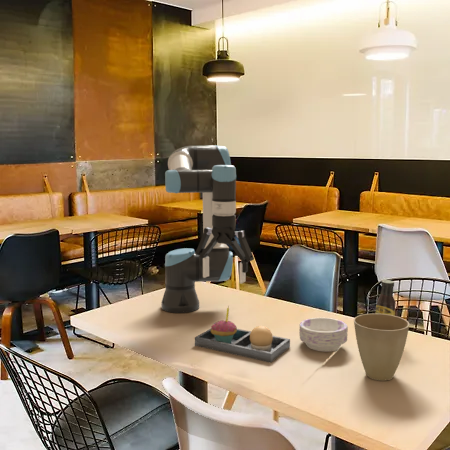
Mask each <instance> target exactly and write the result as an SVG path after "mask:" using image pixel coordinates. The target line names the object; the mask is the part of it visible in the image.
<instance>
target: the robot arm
mask: <svg viewBox="0 0 450 450" xmlns="http://www.w3.org/2000/svg"><path fill="white" fill-rule="evenodd" d="M231 162H232V161H231V157H230V153H229V149H228V148H227V146H225V145H185V146H183V147H180V148H177V149H176V150H173V152H172V153H170V155H169V156H168V159H167V167H168V170H166V171H165V173H164V176H165V179H164V180H165V181H164V182H165V191H166V192H167V193H170V194H171V193H173V194H184V193H185V194H186V193H187V194H188V193H189V194H190V193H192V194H193V193H196V194H197V193H199V194H200V193H202V222H203V223H202V225H203V226H202V228H203V229H202V230H203V232H202V233H203V235H202V237H201V239H200V241H199V243H198V246H197V248H196V250H195V249H194V248H187V247H186V248H185V247H184V248H177V249H174V250H170V251H168V253H166V254H165V257H164V258H165V259H164V261H165V263H164V266H165V268H164V269H165V273H164V274H165V279H164V280H165V289H164V293H163V297H162V300H161V310H163V311H164V312H168V313H173V314H185V313H192V312H195V311H197V310H199V309H200V300H199V297H198V294H197V290H196V284H195V283H196V282H198V283H200V282H202V283H203V282H205V283H206V282H223V281H224V282H225V281H228V280H229V279H230V278H231V276H232V270H233V263H234V257H233V256H234V254H233V252H232V251H231V250H230V247H231V248H232V249H233V251H234V252H235V254H236V256H237V257H238V258H239V259H240V261H241V262H239V274H238V275H239V284H243V283H245V282H247V281H246V280H247V279H246V276H247V275H246V273H248V271H249V262H251V261H253V260H254V258H255V257H254V254H253V253H252V250H251V248H250V245H249V243H248V241H247V238H246V232H245V230H239V231H237V230H236V226H237V225H236V224H237V215H236V213H237V199H236V195H237V194H236V193H237V169H236V167H235V165H232V163H231ZM236 238H238V240H237V239H236ZM238 242H239V243H238ZM228 245H229V246H230V247H229V246H228Z"/></svg>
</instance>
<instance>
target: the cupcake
mask: <svg viewBox="0 0 450 450" xmlns="http://www.w3.org/2000/svg"><path fill="white" fill-rule="evenodd" d="M229 306H230V305H227V308H226V314H225V320H224V319H222V320H218V321H216V322H214V323H213V324H212V325H211V326H210V327H211V328H210V329H211V333H212V334H214V336H215V339H216V341H220V342H224V343H229V344H230V343H231V341H232V338H233V335H234V334H235V333H236V332H237V329H238V328H237V325H236V324H235V323H234V322H232V321H230V320H229V311H230V308H229Z"/></svg>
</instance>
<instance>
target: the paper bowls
mask: <svg viewBox="0 0 450 450" xmlns="http://www.w3.org/2000/svg"><path fill="white" fill-rule="evenodd" d="M348 328H349V327H348V324H347V323H345V322H344V321H343V320H340V319H336V318H331V317H311V318H307V319H303V320H301V322H299V339H300V341H301V342H302V343H305V345H306V347H307V348H309V349H310V350H313V351H317V352H336V351H338V350H339V349H340V347H341V346H342V345H344V344H346V343H347V341H348Z"/></svg>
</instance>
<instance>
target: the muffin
mask: <svg viewBox="0 0 450 450" xmlns="http://www.w3.org/2000/svg"><path fill="white" fill-rule="evenodd" d="M273 336H274V335H273V332H272V331H271V329H269V328H268V327H267V326H264V325H258V326H256V327H253V329H251V333H250V342H251V348H253V349H257V350H262V351H267V352H270V351H271V343H272V340H273Z"/></svg>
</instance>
